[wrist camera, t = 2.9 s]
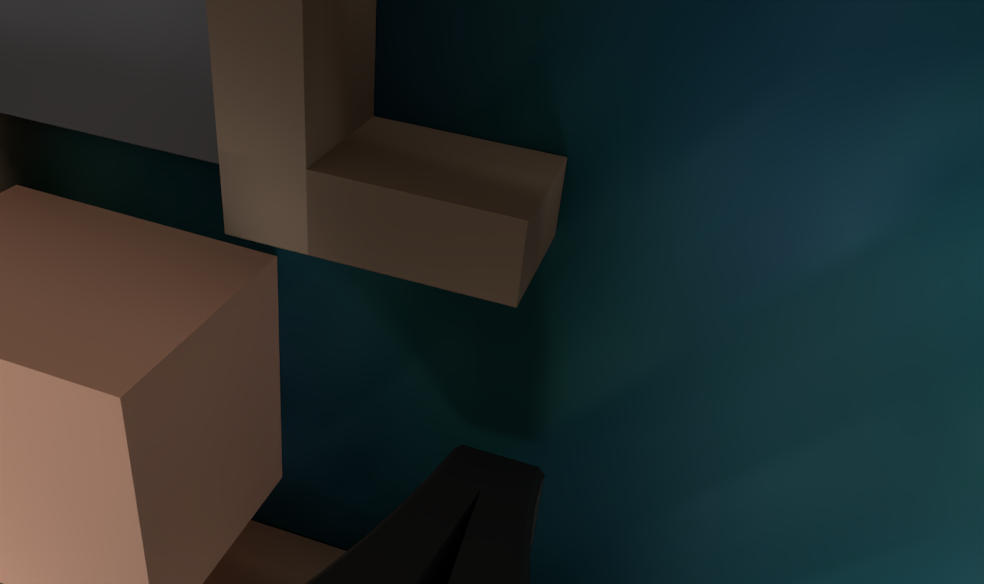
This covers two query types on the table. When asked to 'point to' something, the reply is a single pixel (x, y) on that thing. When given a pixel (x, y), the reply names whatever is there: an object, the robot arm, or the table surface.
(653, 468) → the table surface
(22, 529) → the block
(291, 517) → the table surface
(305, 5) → the trap lane
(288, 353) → the table surface
